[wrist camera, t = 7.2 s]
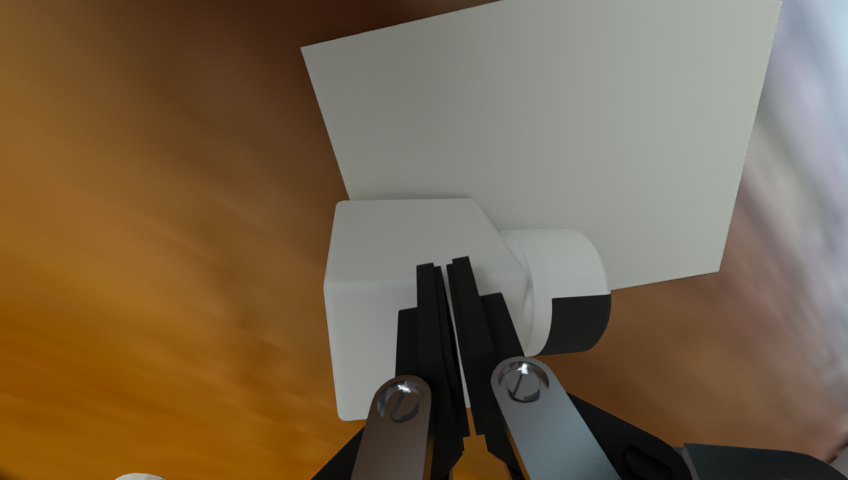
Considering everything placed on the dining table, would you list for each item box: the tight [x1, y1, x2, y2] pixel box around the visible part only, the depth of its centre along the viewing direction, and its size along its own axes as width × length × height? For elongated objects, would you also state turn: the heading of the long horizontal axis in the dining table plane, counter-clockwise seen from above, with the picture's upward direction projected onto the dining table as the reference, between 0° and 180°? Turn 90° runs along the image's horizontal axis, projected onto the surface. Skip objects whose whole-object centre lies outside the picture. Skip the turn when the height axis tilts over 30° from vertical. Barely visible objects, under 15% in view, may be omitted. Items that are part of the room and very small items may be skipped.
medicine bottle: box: [323, 198, 611, 421], centre depth 17 cm, size 7×7×12 cm
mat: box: [301, 0, 783, 290], centre depth 18 cm, size 16×20×1 cm
